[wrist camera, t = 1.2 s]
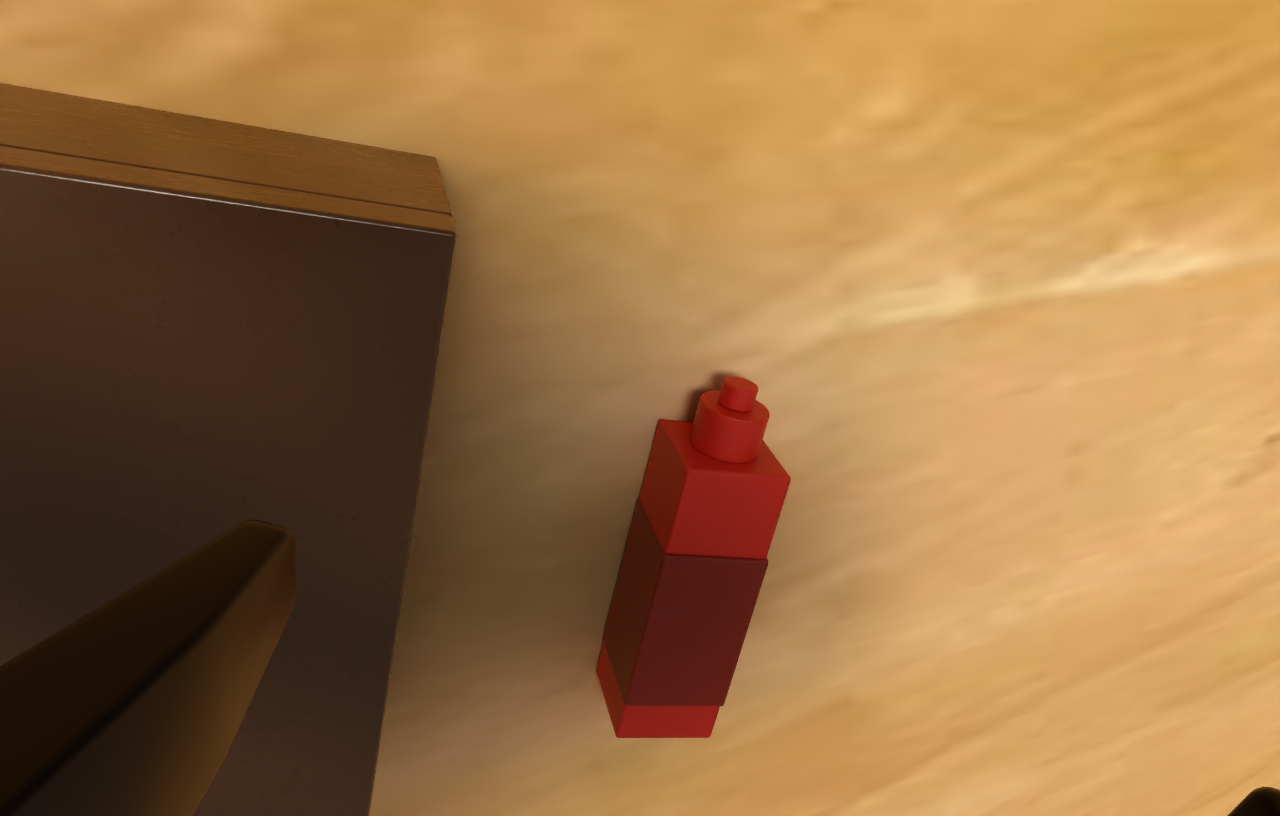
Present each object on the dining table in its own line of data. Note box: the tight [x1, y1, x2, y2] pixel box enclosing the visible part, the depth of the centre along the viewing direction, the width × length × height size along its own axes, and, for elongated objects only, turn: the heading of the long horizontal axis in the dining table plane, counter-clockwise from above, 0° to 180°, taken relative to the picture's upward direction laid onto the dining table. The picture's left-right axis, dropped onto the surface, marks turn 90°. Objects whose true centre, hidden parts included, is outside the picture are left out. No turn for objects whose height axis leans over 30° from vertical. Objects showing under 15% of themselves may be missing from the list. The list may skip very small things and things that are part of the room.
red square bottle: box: [597, 377, 791, 738], centre depth 27 cm, size 10×3×3 cm, turn 167°
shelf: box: [0, 83, 456, 816], centre depth 20 cm, size 16×13×9 cm
